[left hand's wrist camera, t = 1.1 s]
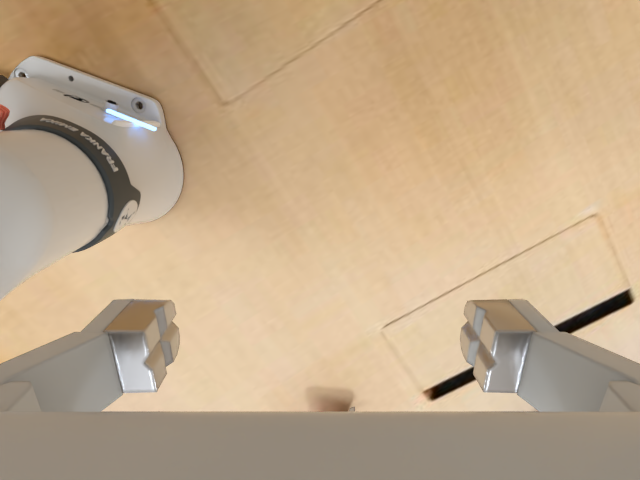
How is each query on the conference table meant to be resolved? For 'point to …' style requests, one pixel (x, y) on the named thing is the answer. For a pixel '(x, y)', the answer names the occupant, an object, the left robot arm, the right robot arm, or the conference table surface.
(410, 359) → the conference table surface
